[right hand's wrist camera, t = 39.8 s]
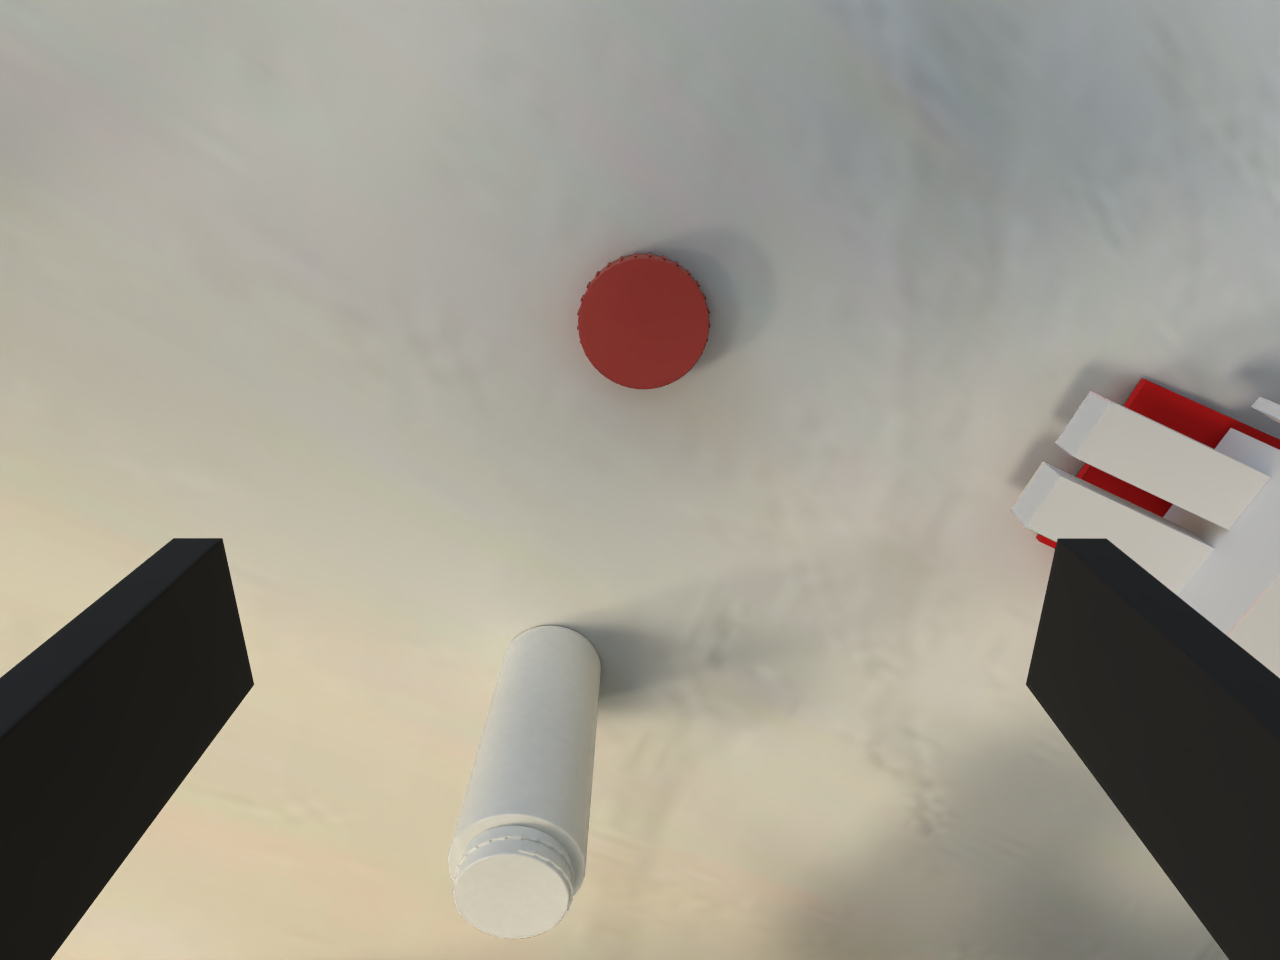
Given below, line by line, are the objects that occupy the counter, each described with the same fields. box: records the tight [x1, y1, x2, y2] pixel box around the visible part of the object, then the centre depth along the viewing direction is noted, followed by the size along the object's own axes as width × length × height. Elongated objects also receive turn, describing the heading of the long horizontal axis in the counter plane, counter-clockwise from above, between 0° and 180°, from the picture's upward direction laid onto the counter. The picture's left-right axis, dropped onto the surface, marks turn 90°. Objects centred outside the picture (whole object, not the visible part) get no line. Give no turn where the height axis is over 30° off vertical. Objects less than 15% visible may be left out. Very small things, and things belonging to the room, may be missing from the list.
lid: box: [577, 253, 710, 389], centre depth 36 cm, size 6×6×2 cm
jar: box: [448, 626, 601, 939], centre depth 37 cm, size 6×6×15 cm
